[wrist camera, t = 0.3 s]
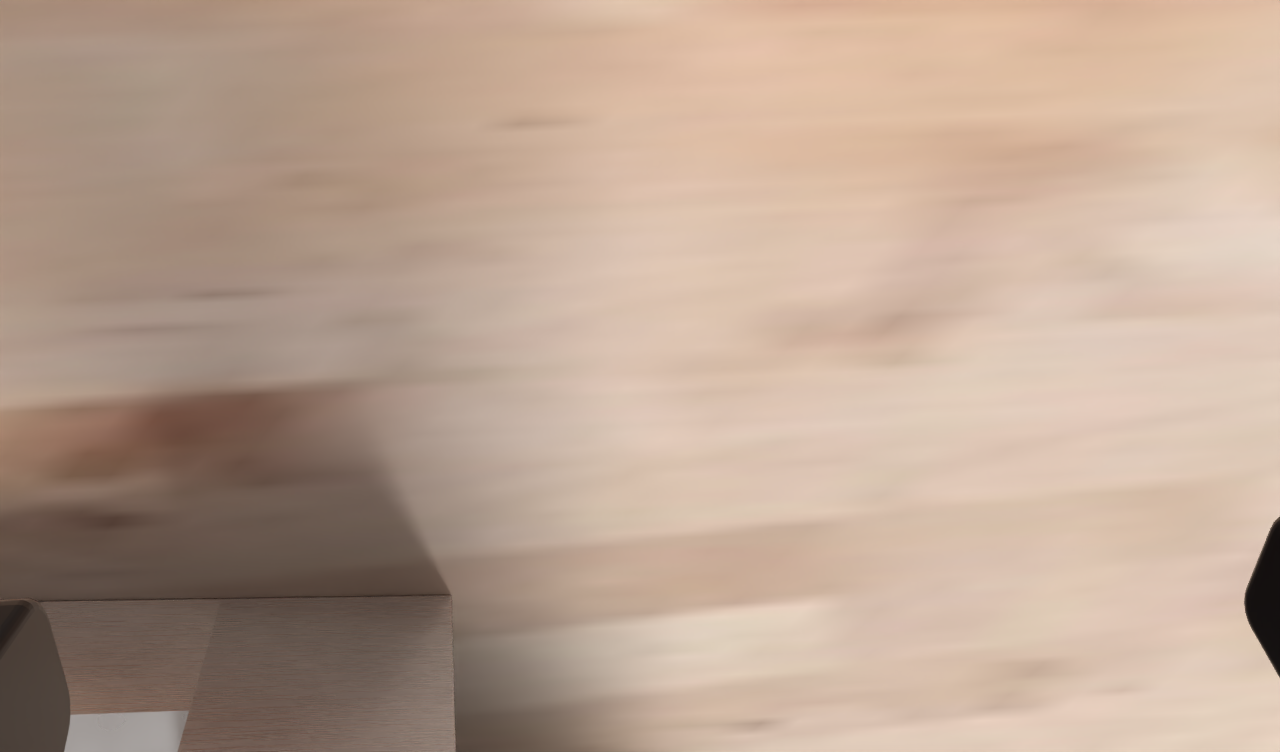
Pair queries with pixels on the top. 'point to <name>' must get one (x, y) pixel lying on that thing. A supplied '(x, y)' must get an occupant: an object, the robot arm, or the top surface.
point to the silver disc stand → (258, 674)
